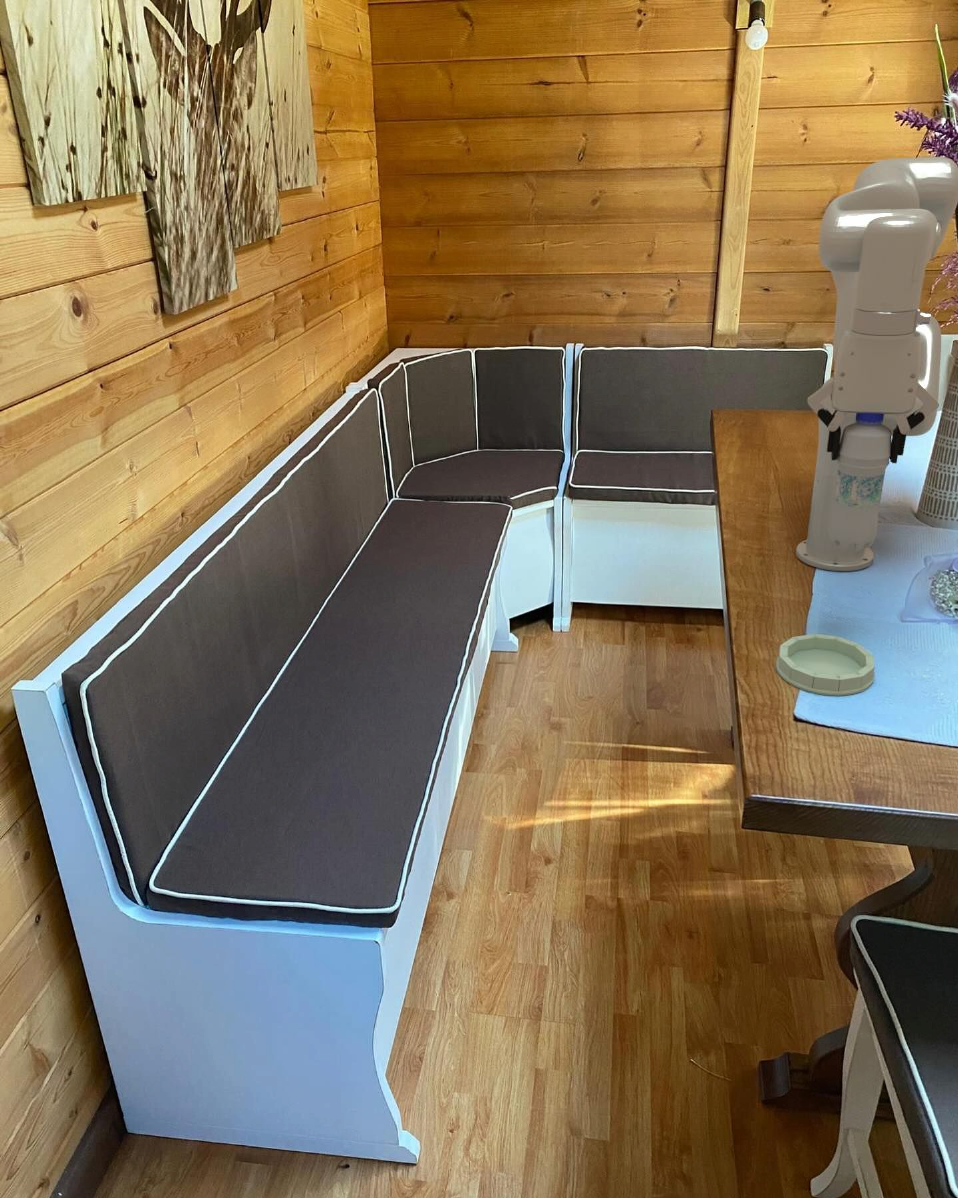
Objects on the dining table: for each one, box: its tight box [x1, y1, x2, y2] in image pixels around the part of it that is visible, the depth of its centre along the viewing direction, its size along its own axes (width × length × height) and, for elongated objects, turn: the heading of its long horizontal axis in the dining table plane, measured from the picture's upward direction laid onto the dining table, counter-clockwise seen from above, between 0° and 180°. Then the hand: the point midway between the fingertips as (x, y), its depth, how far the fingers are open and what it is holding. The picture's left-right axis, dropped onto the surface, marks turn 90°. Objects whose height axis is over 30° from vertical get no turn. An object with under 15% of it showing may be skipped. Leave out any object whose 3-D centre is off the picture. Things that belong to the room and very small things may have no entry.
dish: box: [775, 633, 876, 697], centre depth 122 cm, size 13×13×2 cm
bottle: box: [829, 413, 892, 551], centre depth 122 cm, size 7×7×20 cm
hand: (863, 457), depth 121 cm, fingers closed on bottle, 6 cm apart
